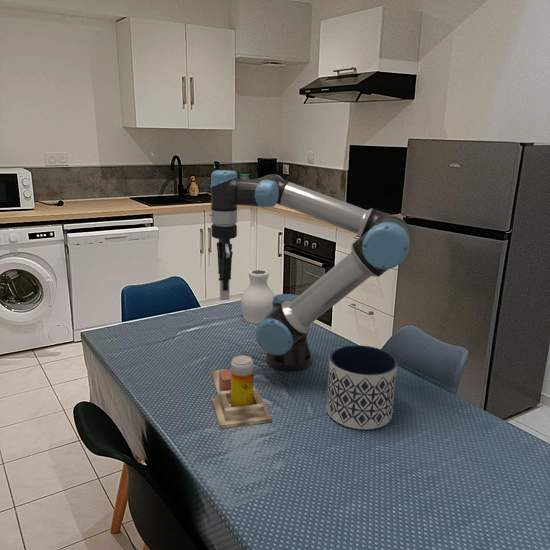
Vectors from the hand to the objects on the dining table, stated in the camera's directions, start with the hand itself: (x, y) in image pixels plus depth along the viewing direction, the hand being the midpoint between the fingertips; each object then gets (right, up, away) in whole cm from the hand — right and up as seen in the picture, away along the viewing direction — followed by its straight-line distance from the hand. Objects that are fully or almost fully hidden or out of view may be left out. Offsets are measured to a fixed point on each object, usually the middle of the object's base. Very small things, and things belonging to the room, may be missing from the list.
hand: (224, 299), depth 160 cm
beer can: (+6, -30, -17) cm, 35 cm away
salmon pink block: (+4, -27, -8) cm, 28 cm away
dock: (+4, -28, -8) cm, 29 cm away
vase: (+9, -11, +51) cm, 53 cm away
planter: (+39, -31, -15) cm, 52 cm away
